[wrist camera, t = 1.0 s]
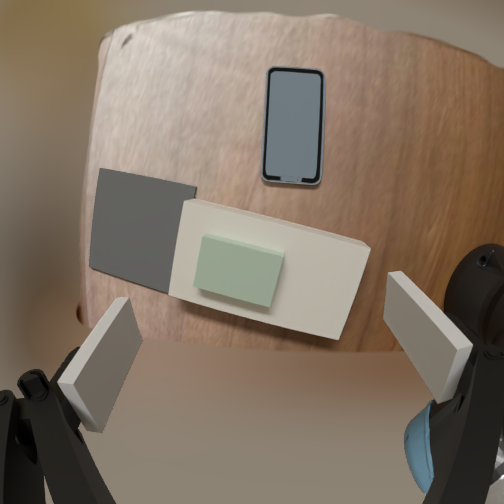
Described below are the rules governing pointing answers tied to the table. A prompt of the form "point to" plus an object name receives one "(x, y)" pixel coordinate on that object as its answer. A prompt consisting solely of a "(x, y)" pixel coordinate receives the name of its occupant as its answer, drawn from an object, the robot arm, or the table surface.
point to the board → (291, 272)
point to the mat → (137, 227)
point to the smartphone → (293, 125)
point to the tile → (237, 269)
